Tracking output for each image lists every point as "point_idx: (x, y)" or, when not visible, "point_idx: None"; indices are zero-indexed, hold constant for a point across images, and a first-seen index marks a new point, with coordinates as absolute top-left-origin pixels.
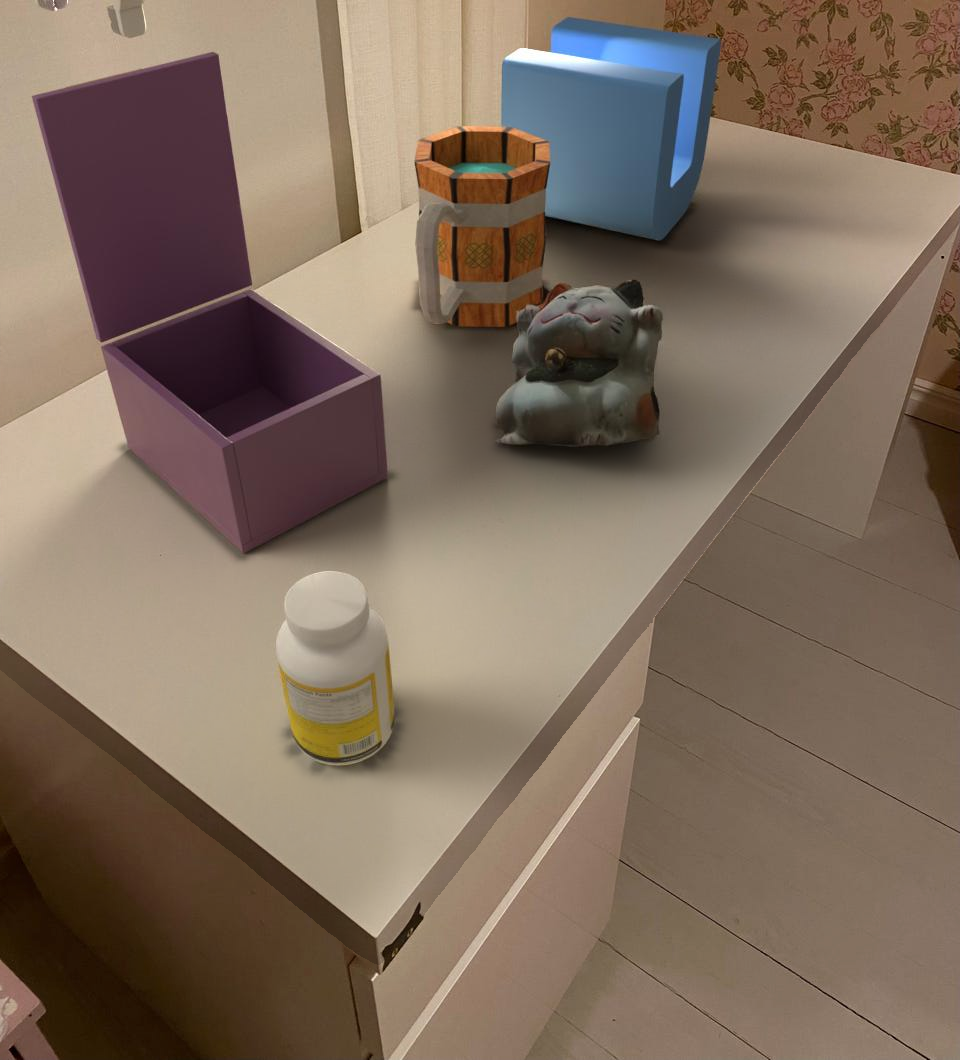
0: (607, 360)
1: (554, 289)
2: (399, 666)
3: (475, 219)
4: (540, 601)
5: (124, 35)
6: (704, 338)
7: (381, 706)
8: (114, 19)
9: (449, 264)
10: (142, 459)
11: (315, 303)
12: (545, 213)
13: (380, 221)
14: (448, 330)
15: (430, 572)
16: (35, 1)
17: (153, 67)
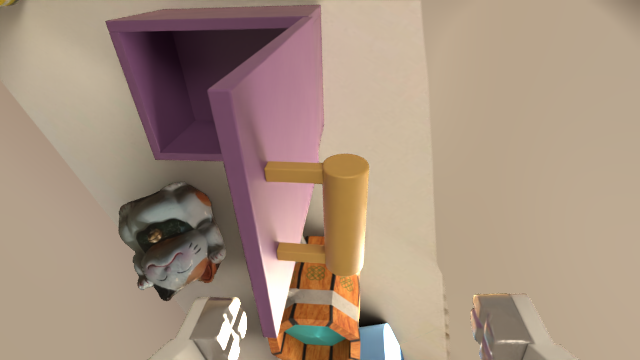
0: (147, 250)
1: (210, 276)
2: (39, 29)
3: (287, 299)
4: (67, 117)
5: (199, 298)
6: (222, 293)
7: None
8: (206, 319)
9: (305, 266)
10: (297, 5)
11: (390, 202)
12: (361, 327)
13: (443, 280)
14: (305, 231)
15: (106, 90)
16: (527, 300)
17: (260, 278)
